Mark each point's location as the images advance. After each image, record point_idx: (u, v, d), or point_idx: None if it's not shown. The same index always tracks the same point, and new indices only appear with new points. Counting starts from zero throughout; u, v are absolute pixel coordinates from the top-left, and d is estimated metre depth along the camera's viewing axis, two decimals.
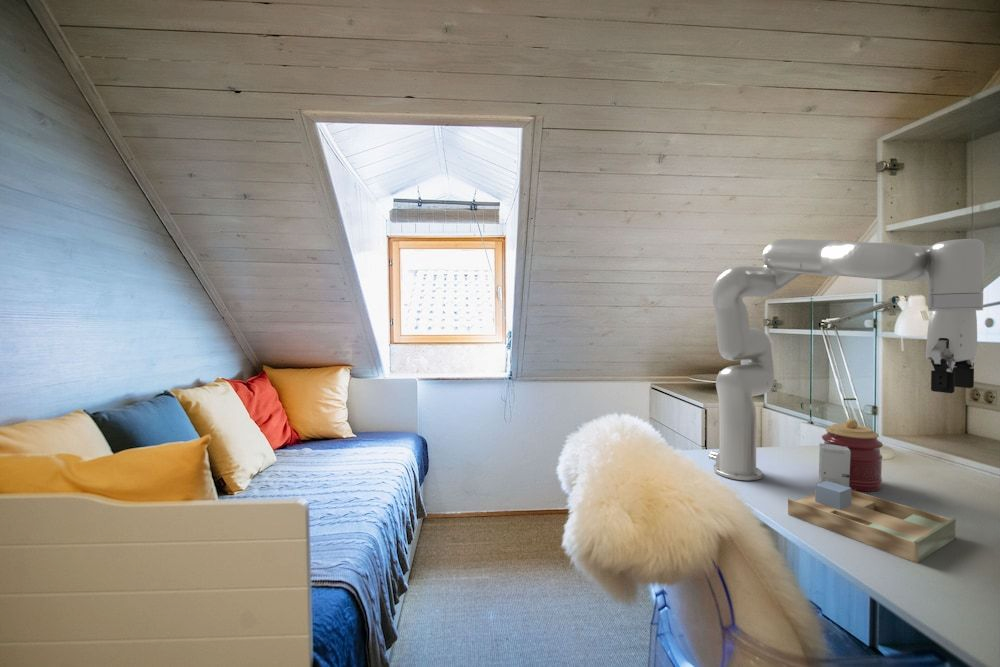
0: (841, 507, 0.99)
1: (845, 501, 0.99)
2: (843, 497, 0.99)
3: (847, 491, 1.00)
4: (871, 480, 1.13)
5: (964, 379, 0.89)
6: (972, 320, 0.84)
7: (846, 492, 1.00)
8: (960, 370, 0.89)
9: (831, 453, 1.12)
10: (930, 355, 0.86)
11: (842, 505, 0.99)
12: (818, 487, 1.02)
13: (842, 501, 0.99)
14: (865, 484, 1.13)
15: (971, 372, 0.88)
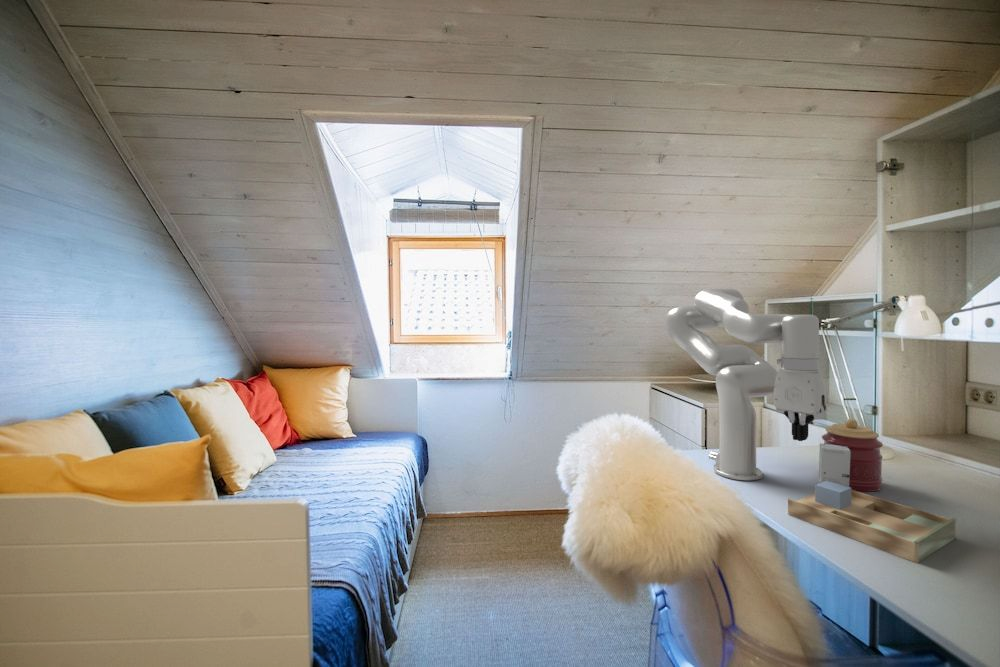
0: (841, 507, 0.99)
1: (845, 501, 0.99)
2: (843, 497, 0.99)
3: (847, 491, 1.00)
4: (871, 480, 1.13)
5: None
6: None
7: (846, 492, 1.00)
8: None
9: (831, 453, 1.12)
10: (818, 410, 1.02)
11: (842, 505, 0.99)
12: (818, 487, 1.02)
13: (842, 501, 0.99)
14: (865, 484, 1.13)
15: None
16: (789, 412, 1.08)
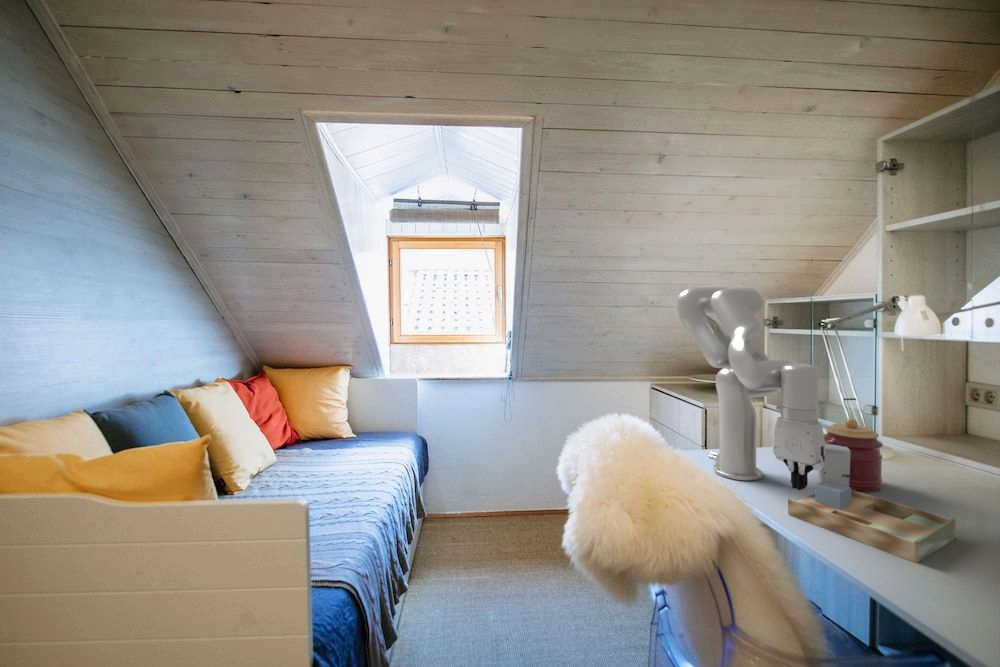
0: (841, 507, 0.99)
1: (845, 501, 0.99)
2: (843, 497, 0.99)
3: (847, 491, 1.00)
4: (871, 480, 1.13)
5: None
6: None
7: (846, 492, 1.00)
8: None
9: (831, 453, 1.12)
10: (817, 462, 1.02)
11: (842, 505, 0.99)
12: (818, 487, 1.02)
13: (842, 501, 0.99)
14: (865, 484, 1.13)
15: None
16: (788, 460, 1.09)
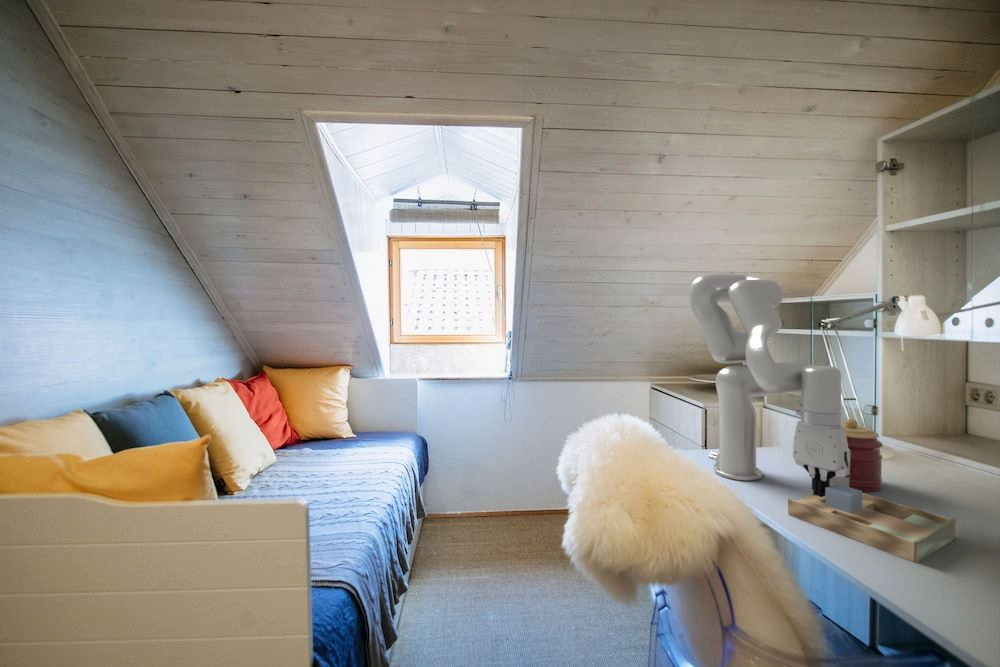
0: (852, 511, 0.97)
1: (856, 504, 0.98)
2: (854, 500, 0.97)
3: (858, 495, 0.98)
4: (871, 480, 1.13)
5: None
6: None
7: (857, 495, 0.98)
8: None
9: None
10: (840, 468, 0.98)
11: (853, 509, 0.97)
12: (828, 490, 1.00)
13: (853, 504, 0.97)
14: (865, 484, 1.13)
15: None
16: (809, 466, 1.04)
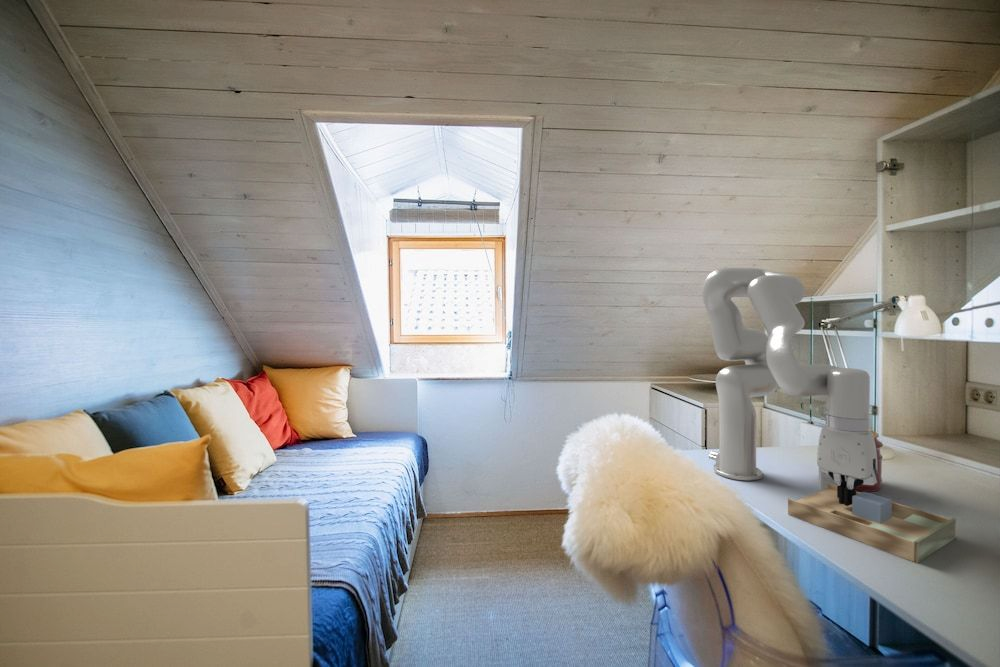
0: (881, 521, 0.92)
1: (886, 514, 0.93)
2: (884, 510, 0.92)
3: (887, 504, 0.93)
4: None
5: None
6: None
7: (887, 504, 0.93)
8: None
9: None
10: (869, 476, 0.94)
11: (883, 518, 0.92)
12: (856, 499, 0.95)
13: (882, 514, 0.92)
14: None
15: None
16: (835, 473, 1.00)
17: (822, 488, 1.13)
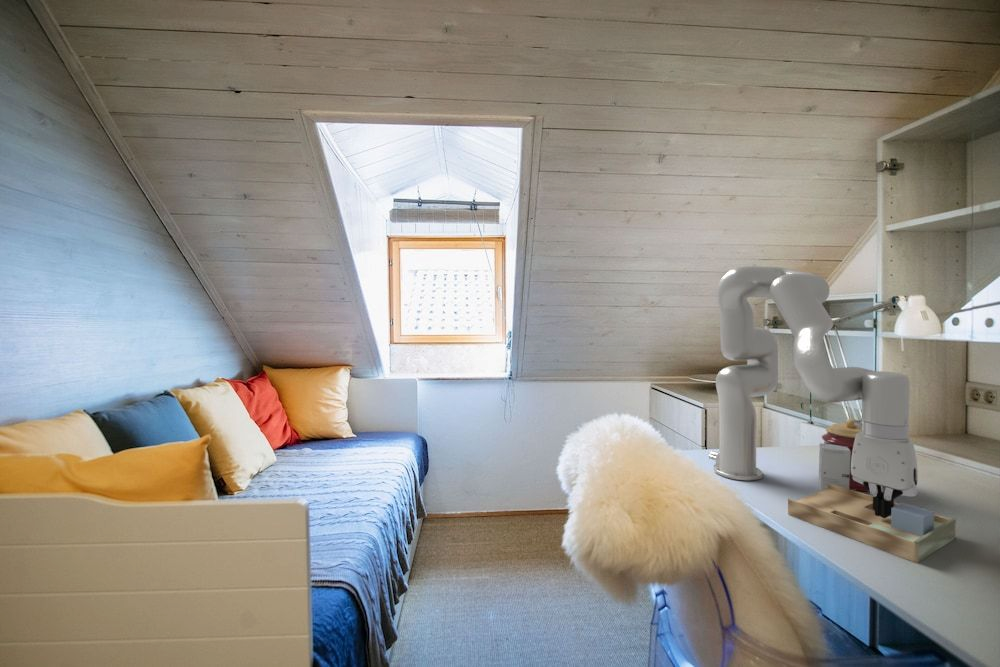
0: (924, 534, 0.86)
1: (928, 527, 0.87)
2: (926, 523, 0.87)
3: (930, 516, 0.87)
4: None
5: None
6: None
7: (929, 516, 0.87)
8: None
9: (831, 453, 1.12)
10: (910, 487, 0.88)
11: (925, 532, 0.86)
12: (895, 511, 0.90)
13: (925, 527, 0.86)
14: None
15: None
16: (870, 483, 0.94)
17: (822, 488, 1.13)
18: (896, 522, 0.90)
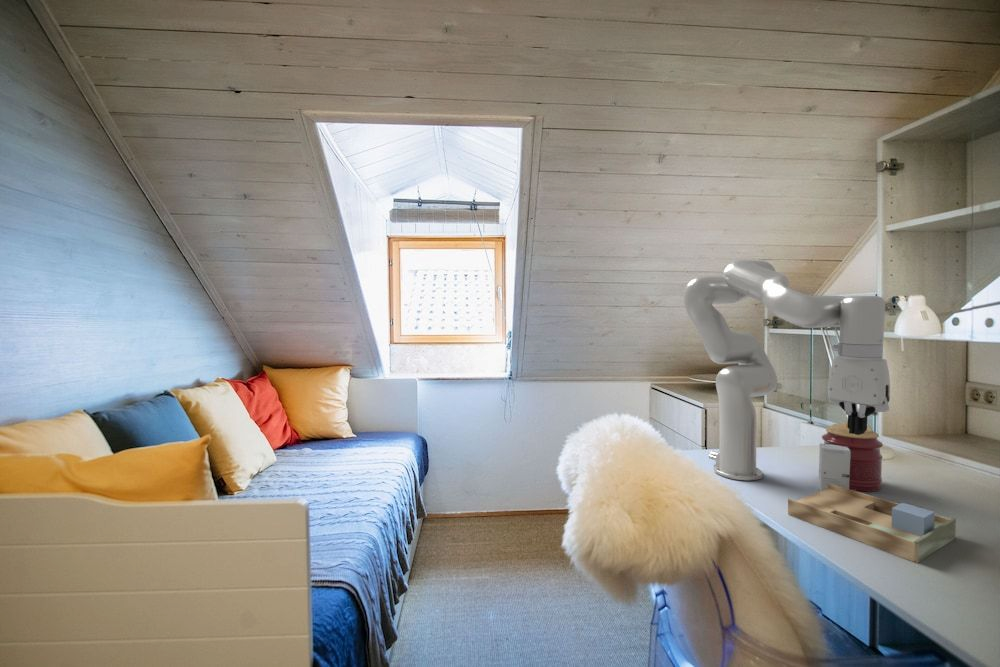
0: None
1: (929, 527, 0.87)
2: (927, 523, 0.86)
3: (931, 516, 0.87)
4: (871, 480, 1.13)
5: None
6: None
7: (930, 516, 0.87)
8: None
9: (831, 453, 1.12)
10: (881, 402, 0.92)
11: (926, 532, 0.86)
12: (895, 511, 0.90)
13: (926, 527, 0.86)
14: (865, 484, 1.13)
15: None
16: (846, 403, 0.98)
17: (822, 488, 1.13)
18: (896, 522, 0.89)
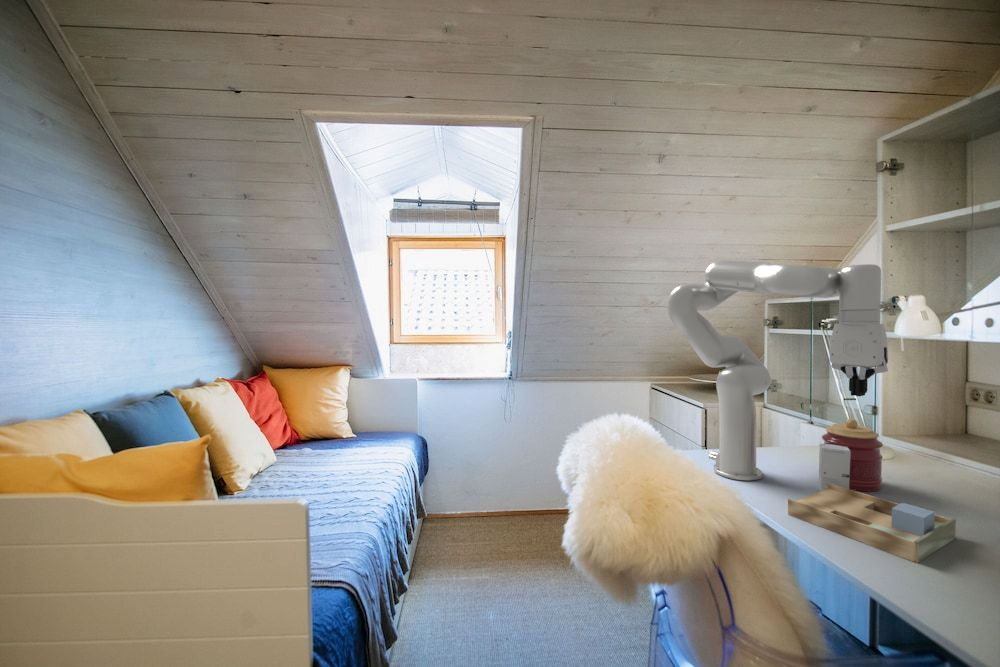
0: None
1: (929, 527, 0.87)
2: (927, 523, 0.86)
3: (931, 516, 0.87)
4: (871, 480, 1.13)
5: None
6: None
7: (930, 516, 0.87)
8: None
9: (831, 453, 1.12)
10: (880, 363, 0.98)
11: (926, 532, 0.86)
12: (895, 511, 0.90)
13: (926, 527, 0.86)
14: (865, 484, 1.13)
15: None
16: (847, 367, 1.04)
17: (822, 488, 1.13)
18: (896, 522, 0.89)
